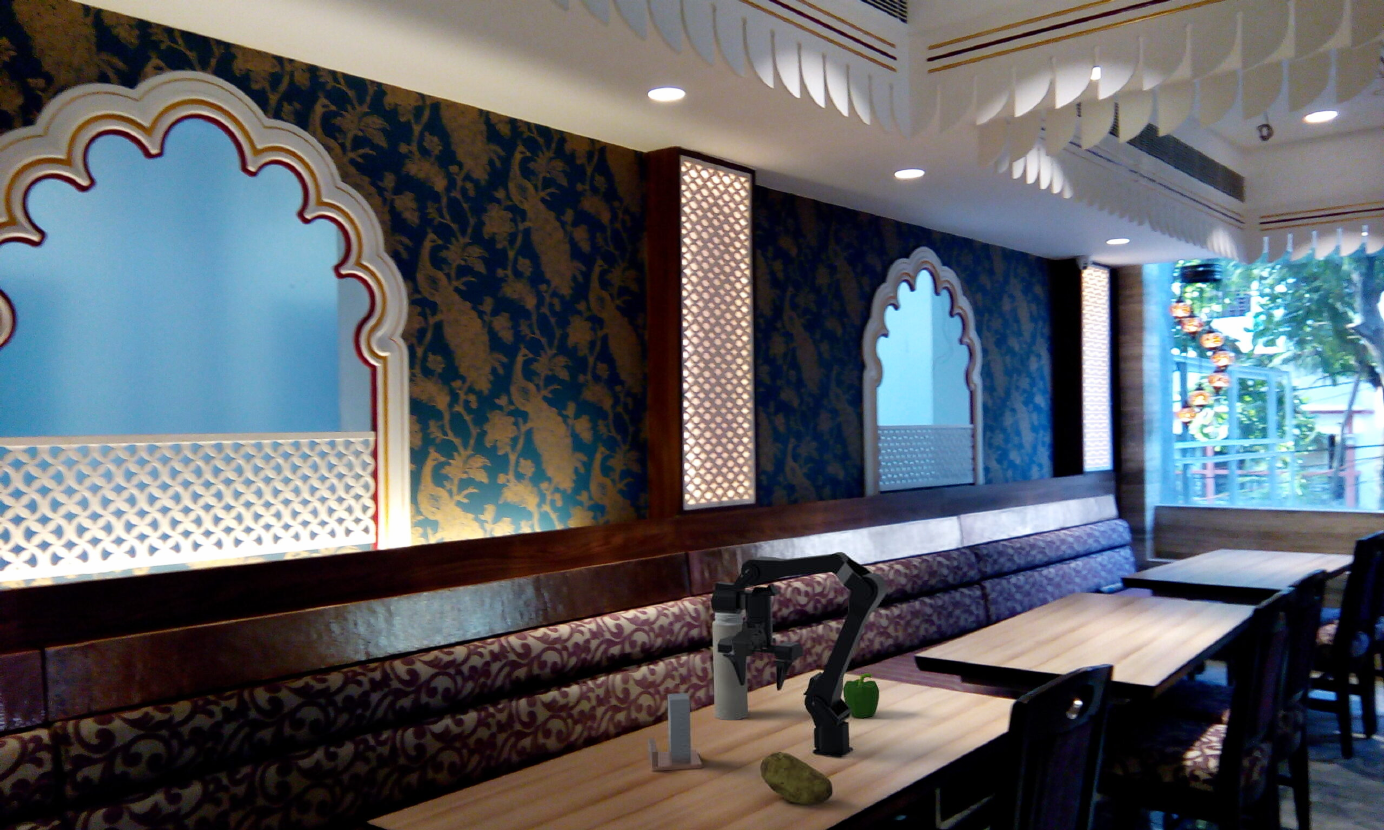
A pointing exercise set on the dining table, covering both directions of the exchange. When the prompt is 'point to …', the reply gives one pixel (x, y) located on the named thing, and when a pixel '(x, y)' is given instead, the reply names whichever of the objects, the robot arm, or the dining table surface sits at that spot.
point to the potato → (795, 779)
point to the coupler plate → (663, 761)
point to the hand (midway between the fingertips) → (760, 687)
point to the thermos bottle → (728, 672)
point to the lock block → (679, 727)
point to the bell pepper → (861, 696)
